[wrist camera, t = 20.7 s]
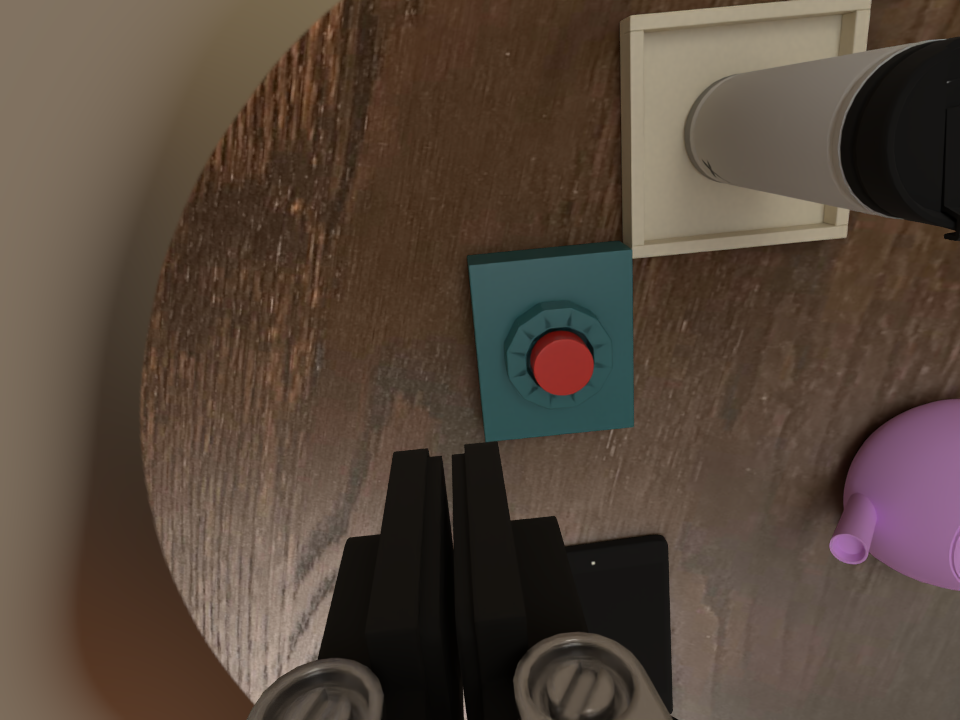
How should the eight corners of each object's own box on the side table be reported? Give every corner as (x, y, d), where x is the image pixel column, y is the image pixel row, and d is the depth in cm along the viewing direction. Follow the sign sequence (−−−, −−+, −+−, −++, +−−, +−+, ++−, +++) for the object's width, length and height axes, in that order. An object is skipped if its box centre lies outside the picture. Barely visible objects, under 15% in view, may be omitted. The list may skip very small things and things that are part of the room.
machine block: (466, 255, 42) (469, 271, 38) (619, 240, 42) (641, 254, 38) (483, 421, 46) (487, 455, 42) (622, 407, 47) (641, 439, 42)
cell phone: (568, 720, 56) (570, 729, 55) (550, 547, 50) (552, 555, 49) (669, 706, 56) (673, 715, 55) (664, 532, 50) (668, 539, 49)
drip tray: (619, 21, 38) (629, 15, 36) (848, 0, 38) (872, -8, 36) (622, 252, 43) (632, 258, 41) (826, 232, 43) (847, 237, 41)
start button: (528, 333, 39) (531, 342, 38) (587, 327, 39) (593, 336, 38) (531, 387, 41) (535, 398, 39) (589, 382, 41) (594, 392, 39)
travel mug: (686, 196, 41) (891, 257, 22) (679, 84, 39) (901, 45, 20) (785, 178, 41) (1074, 224, 22) (784, 65, 38) (1106, 8, 20)
